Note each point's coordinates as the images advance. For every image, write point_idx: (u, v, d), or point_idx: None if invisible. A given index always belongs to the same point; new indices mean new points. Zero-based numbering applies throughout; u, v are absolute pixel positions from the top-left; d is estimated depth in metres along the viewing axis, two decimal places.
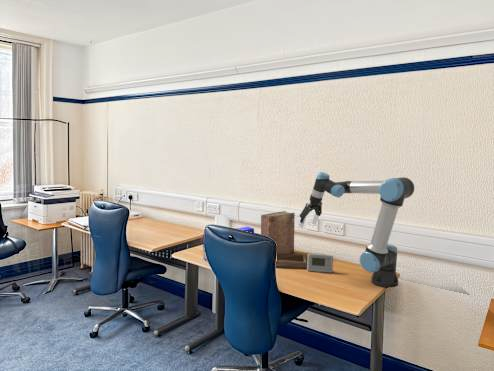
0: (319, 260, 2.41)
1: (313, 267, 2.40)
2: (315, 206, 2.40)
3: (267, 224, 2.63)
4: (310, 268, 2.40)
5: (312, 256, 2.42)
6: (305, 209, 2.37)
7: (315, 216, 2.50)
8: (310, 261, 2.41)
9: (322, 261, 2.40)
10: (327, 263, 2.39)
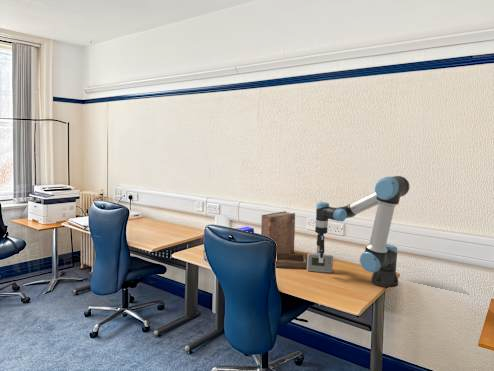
0: None
1: (313, 267, 2.40)
2: None
3: (267, 224, 2.62)
4: (310, 268, 2.40)
5: (312, 256, 2.42)
6: (322, 243, 2.32)
7: (318, 247, 2.47)
8: (310, 261, 2.41)
9: None
10: (327, 263, 2.39)
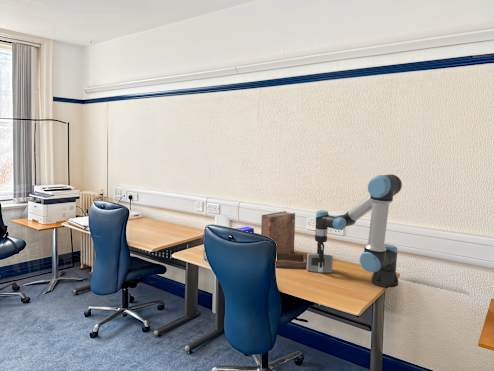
0: None
1: (313, 267, 2.39)
2: None
3: (267, 224, 2.62)
4: (310, 268, 2.40)
5: (312, 256, 2.41)
6: (322, 253, 2.34)
7: None
8: (310, 261, 2.41)
9: None
10: (327, 263, 2.39)
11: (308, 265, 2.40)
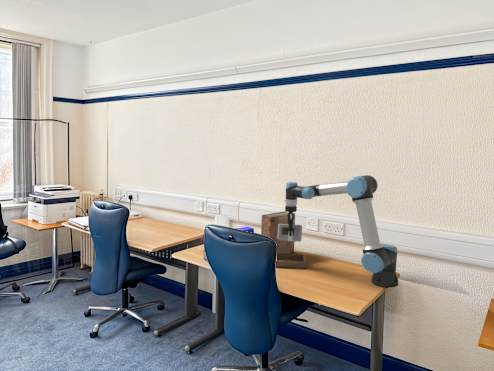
0: None
1: (283, 236, 2.51)
2: (293, 215, 2.50)
3: (267, 224, 2.62)
4: (280, 237, 2.51)
5: (282, 226, 2.52)
6: (291, 222, 2.45)
7: None
8: (280, 231, 2.52)
9: None
10: (296, 232, 2.50)
11: (279, 234, 2.51)
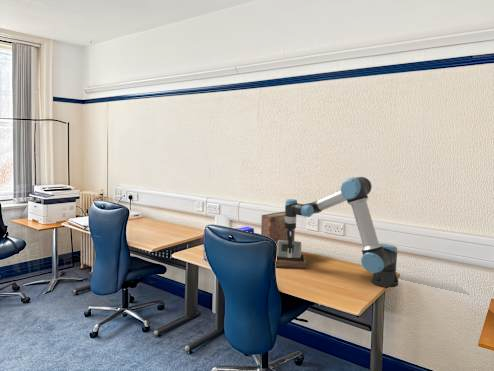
0: None
1: (282, 253, 2.52)
2: None
3: (267, 224, 2.62)
4: (279, 254, 2.52)
5: (282, 242, 2.54)
6: (290, 239, 2.46)
7: None
8: (280, 247, 2.53)
9: None
10: (296, 249, 2.51)
11: (278, 251, 2.53)
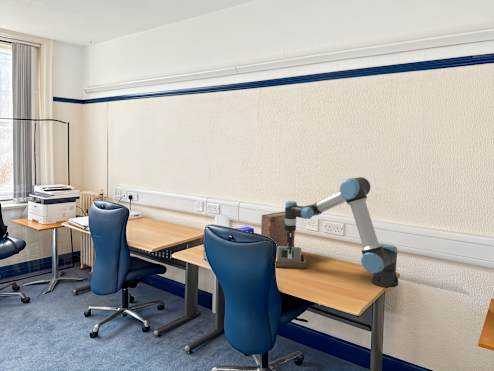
0: None
1: (282, 259, 2.52)
2: None
3: (267, 224, 2.62)
4: (280, 260, 2.52)
5: (282, 248, 2.54)
6: (290, 240, 2.45)
7: None
8: (280, 253, 2.53)
9: None
10: (295, 255, 2.52)
11: (278, 257, 2.53)
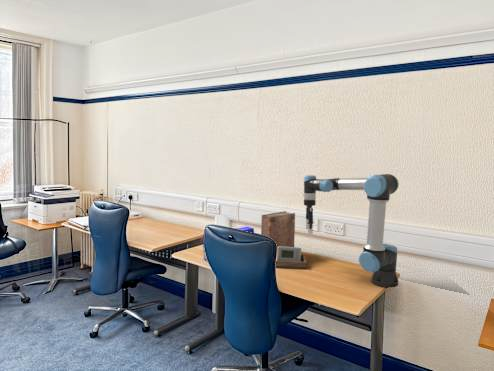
0: (288, 252, 2.53)
1: (282, 259, 2.52)
2: None
3: (267, 224, 2.62)
4: (279, 260, 2.52)
5: (282, 248, 2.54)
6: (311, 214, 2.39)
7: (307, 221, 2.54)
8: (279, 253, 2.53)
9: (291, 253, 2.52)
10: (295, 255, 2.52)
11: (278, 257, 2.53)
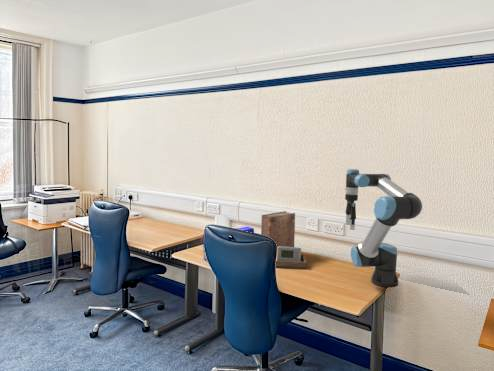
0: (288, 252, 2.53)
1: (282, 259, 2.52)
2: None
3: (267, 224, 2.62)
4: (279, 260, 2.52)
5: (281, 248, 2.54)
6: (353, 209, 2.30)
7: (348, 216, 2.45)
8: (279, 253, 2.53)
9: (291, 253, 2.52)
10: (295, 255, 2.52)
11: (278, 257, 2.53)
